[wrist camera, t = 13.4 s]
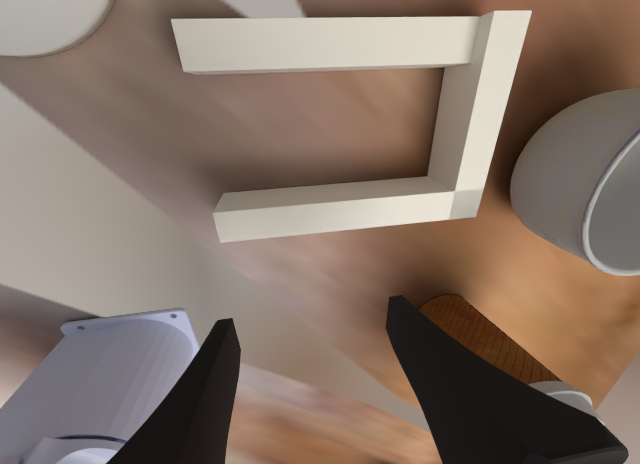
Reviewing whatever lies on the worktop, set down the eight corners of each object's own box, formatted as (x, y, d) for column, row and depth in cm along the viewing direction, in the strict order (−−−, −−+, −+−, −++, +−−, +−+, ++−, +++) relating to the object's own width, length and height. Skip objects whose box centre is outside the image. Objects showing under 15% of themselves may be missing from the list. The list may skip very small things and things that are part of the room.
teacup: (474, 230, 23) (562, 290, 16) (504, 91, 18) (655, 88, 11) (615, 207, 24) (755, 254, 17) (681, 70, 19) (923, 55, 12)
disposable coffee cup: (496, 280, 26) (645, 405, 16) (463, 345, 30) (562, 477, 20) (409, 281, 24) (509, 422, 14) (387, 350, 29) (451, 497, 18)
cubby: (229, 218, 19) (220, 242, 16) (187, 31, 14) (161, 12, 11) (446, 198, 21) (475, 216, 18) (481, 27, 16) (532, 10, 13)
